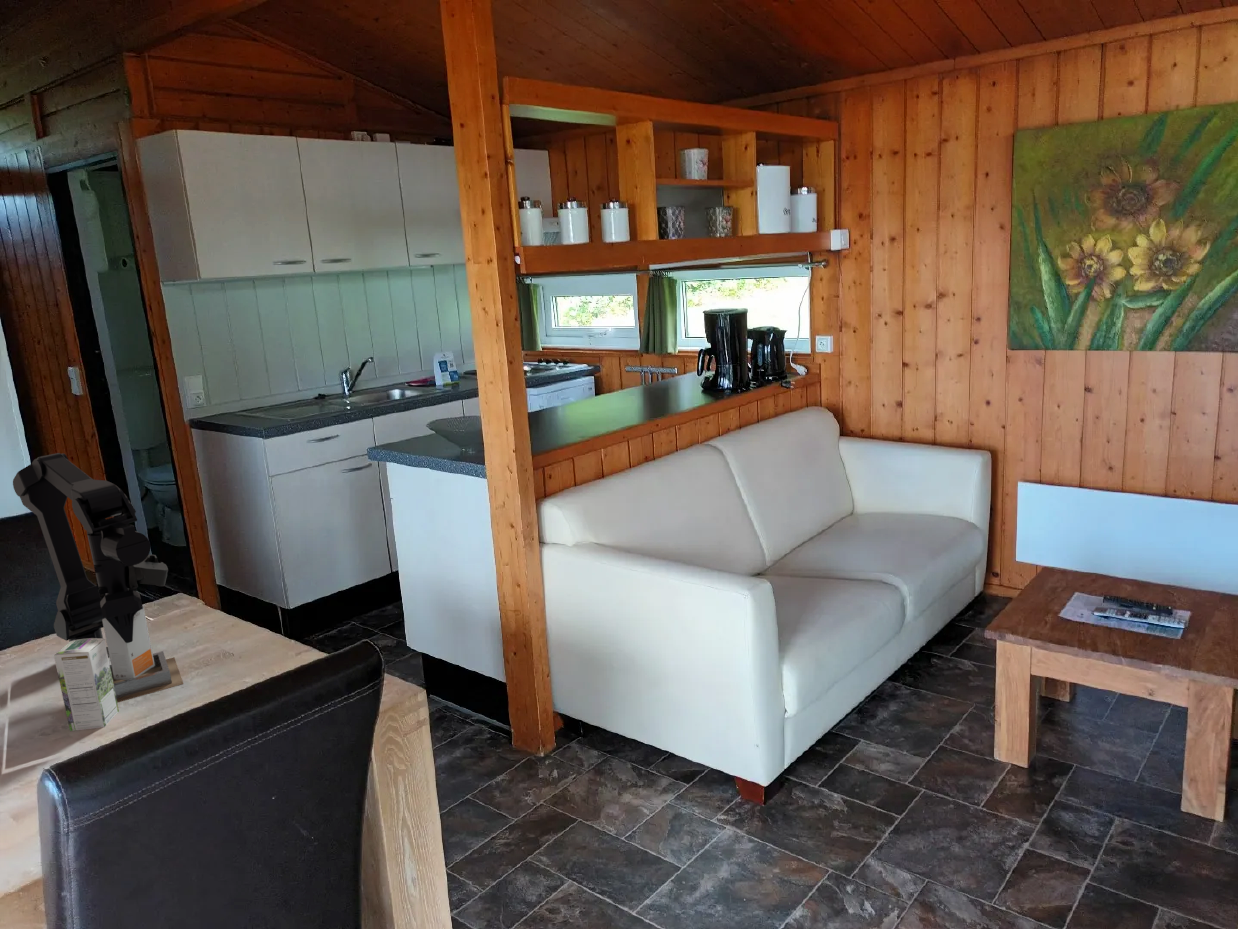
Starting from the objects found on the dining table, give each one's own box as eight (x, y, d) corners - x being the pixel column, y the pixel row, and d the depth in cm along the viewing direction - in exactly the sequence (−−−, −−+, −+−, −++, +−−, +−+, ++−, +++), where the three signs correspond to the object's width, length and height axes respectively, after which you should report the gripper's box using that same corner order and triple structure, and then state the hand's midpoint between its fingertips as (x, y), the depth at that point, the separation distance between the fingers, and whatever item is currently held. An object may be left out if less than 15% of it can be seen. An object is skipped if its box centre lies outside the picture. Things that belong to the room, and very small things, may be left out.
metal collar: (104, 679, 172) (101, 667, 172) (165, 663, 177) (163, 651, 177) (107, 701, 163) (104, 688, 163) (172, 683, 169) (169, 670, 168)
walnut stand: (93, 681, 173) (93, 678, 173) (174, 660, 180) (174, 657, 180) (97, 711, 161) (97, 708, 161) (184, 686, 168) (183, 683, 168)
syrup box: (86, 717, 159) (68, 639, 156) (121, 713, 160) (104, 636, 156) (70, 734, 154) (51, 654, 150) (106, 730, 154) (88, 650, 151)
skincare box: (134, 681, 167) (121, 620, 164) (113, 680, 168) (100, 619, 165) (156, 665, 173) (144, 606, 170) (136, 665, 173) (124, 605, 170)
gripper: (165, 558, 161) (182, 640, 164) (154, 532, 176) (169, 608, 180) (93, 573, 155) (112, 658, 159) (88, 545, 171) (105, 623, 174)
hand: (127, 635), depth 168 cm, fingers closed on skincare box, 7 cm apart
